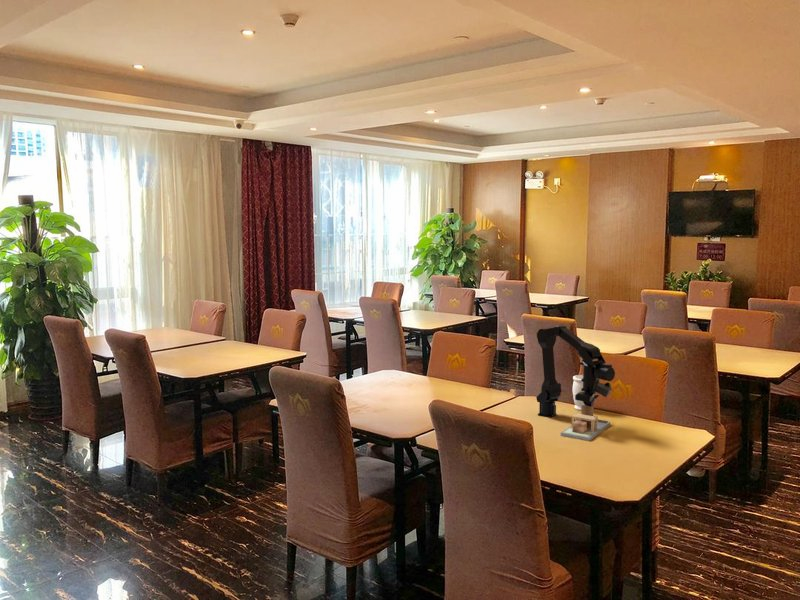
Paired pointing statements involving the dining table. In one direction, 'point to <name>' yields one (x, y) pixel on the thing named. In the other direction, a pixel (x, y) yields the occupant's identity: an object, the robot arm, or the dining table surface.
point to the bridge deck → (595, 429)
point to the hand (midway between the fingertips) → (589, 412)
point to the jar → (577, 390)
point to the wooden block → (583, 424)
